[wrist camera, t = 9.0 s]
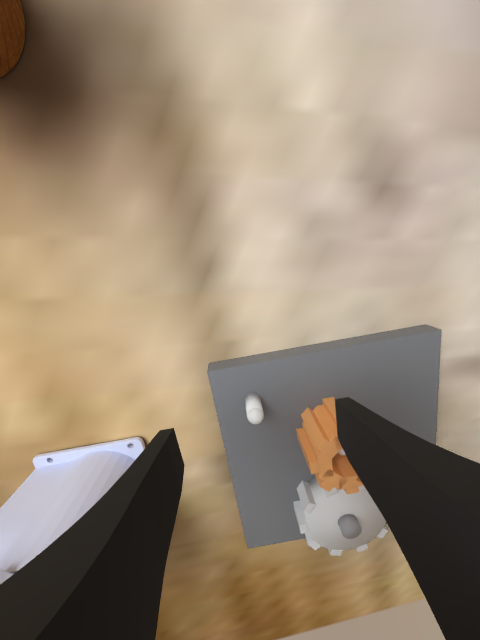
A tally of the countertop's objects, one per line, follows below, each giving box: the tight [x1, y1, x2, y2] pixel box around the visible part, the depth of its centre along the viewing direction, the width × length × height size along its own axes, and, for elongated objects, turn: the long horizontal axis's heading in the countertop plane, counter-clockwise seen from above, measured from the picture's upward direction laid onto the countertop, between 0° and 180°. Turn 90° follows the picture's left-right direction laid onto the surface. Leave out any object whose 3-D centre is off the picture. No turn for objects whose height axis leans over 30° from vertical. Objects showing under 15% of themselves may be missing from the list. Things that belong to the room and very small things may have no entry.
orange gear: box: [296, 397, 364, 494], centre depth 19 cm, size 6×6×4 cm
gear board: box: [207, 325, 441, 556], centre depth 20 cm, size 18×19×4 cm
